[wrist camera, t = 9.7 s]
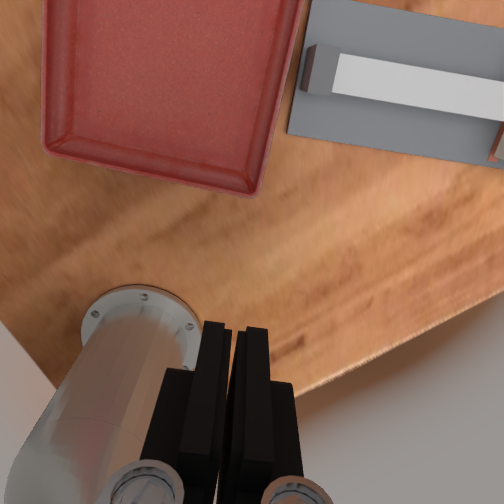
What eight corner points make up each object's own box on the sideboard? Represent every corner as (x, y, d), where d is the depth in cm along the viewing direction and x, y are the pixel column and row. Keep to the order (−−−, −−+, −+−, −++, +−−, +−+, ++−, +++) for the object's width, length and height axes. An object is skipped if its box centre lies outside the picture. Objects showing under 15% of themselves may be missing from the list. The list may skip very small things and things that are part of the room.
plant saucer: (63, -110, 28) (40, -132, 25) (312, -43, 30) (318, -56, 27) (57, 147, 36) (39, 154, 32) (257, 190, 37) (258, 201, 34)
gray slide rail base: (541, 173, 36) (597, 193, 30) (286, 132, 34) (292, 144, 29) (597, 49, 32) (675, 44, 26) (311, -4, 30) (325, -22, 25)
